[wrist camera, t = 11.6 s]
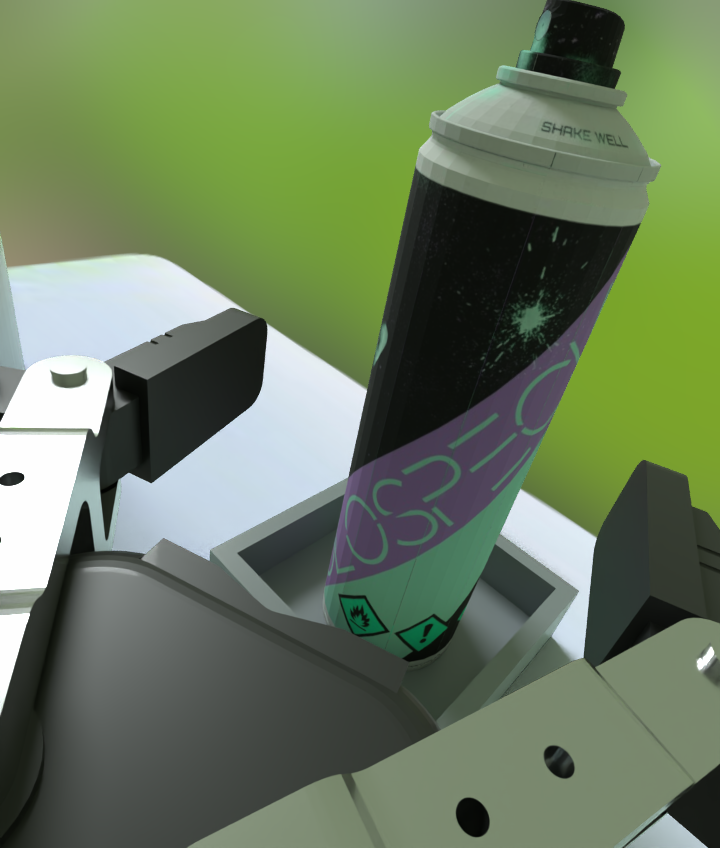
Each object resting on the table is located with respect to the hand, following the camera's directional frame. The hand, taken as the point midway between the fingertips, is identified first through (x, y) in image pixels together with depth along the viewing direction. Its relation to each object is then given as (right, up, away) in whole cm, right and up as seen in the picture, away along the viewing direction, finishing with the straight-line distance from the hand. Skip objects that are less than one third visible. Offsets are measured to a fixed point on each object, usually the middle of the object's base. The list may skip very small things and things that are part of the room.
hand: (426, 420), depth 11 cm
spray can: (0, -8, +11) cm, 14 cm away
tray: (0, -8, +12) cm, 14 cm away
